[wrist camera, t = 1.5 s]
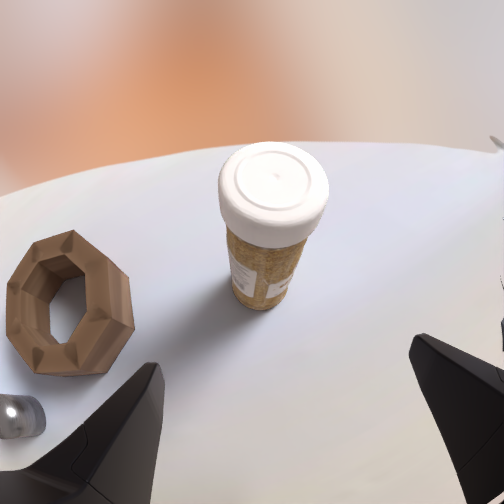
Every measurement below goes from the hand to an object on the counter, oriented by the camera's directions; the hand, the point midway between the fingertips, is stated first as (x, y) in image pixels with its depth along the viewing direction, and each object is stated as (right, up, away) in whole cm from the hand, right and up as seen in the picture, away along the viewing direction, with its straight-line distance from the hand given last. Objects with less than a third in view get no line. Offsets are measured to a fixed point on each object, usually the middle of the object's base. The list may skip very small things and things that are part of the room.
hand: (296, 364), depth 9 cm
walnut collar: (-17, -2, +13) cm, 21 cm away
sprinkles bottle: (-1, +1, +15) cm, 15 cm away
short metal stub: (-22, -12, +8) cm, 26 cm away
